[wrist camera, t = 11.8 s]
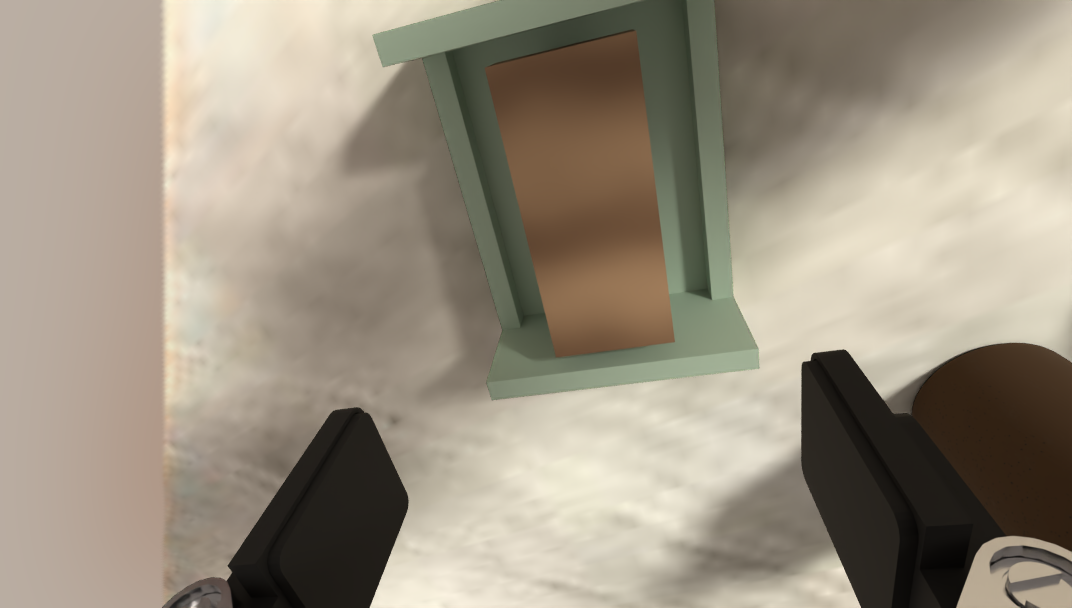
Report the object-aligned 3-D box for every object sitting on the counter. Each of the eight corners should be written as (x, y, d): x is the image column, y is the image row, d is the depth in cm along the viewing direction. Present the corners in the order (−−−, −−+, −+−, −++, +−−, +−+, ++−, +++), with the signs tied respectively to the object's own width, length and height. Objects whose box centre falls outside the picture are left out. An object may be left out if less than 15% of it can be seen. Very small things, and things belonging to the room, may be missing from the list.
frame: (428, 30, 28) (372, 34, 21) (701, -43, 25) (740, -65, 18) (512, 326, 36) (492, 400, 29) (725, 295, 34) (759, 368, 26)
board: (495, 62, 23) (484, 67, 21) (632, 29, 22) (636, 30, 20) (559, 331, 30) (555, 357, 27) (668, 316, 28) (674, 342, 26)
